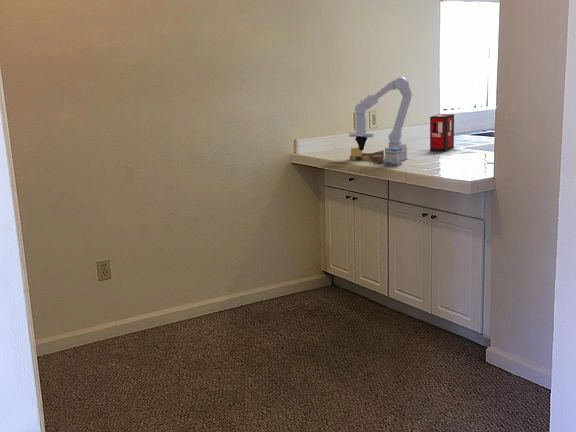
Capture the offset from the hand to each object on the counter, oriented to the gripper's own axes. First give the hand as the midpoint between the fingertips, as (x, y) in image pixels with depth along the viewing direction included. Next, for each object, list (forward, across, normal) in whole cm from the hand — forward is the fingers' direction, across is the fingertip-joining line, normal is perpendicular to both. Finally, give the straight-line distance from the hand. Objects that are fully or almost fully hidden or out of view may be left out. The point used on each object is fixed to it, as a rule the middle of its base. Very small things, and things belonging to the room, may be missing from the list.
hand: (361, 150), depth 353 cm
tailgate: (+5, +3, 0) cm, 6 cm away
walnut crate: (+6, -15, +7) cm, 17 cm away
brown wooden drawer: (+5, -4, 0) cm, 7 cm away
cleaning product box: (+6, -23, -52) cm, 57 cm away
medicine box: (+6, -25, +8) cm, 27 cm away
